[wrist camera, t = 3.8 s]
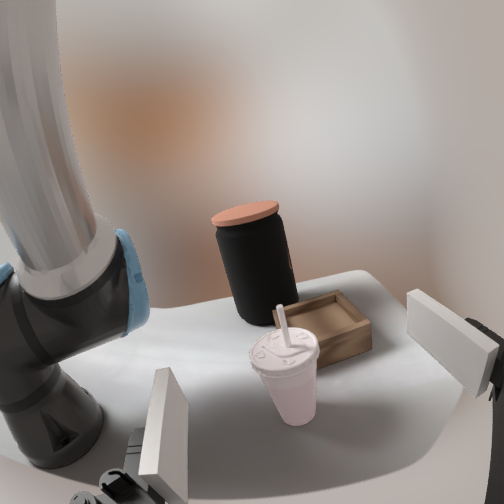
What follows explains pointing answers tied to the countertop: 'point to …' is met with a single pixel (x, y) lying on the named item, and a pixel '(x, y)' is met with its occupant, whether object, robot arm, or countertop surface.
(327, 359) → the wooden tray
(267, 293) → the coffee jar
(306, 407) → the smoothie
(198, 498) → the countertop surface
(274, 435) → the countertop surface
